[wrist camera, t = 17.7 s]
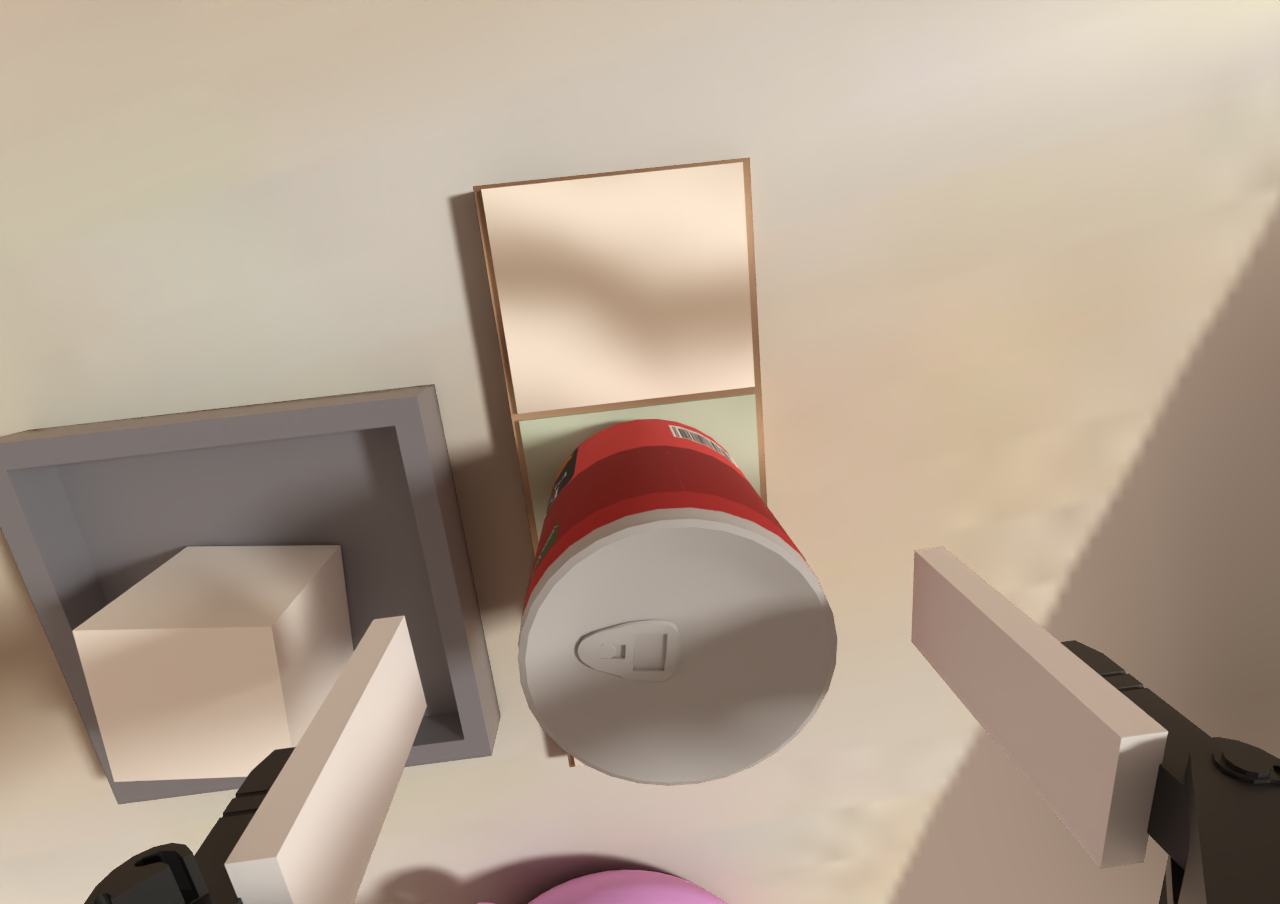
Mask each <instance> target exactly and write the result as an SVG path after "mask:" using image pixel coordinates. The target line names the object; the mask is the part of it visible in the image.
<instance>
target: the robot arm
mask: <svg viewBox="0 0 1280 904" xmlns="http://www.w3.org/2000/svg"><path fill="white" fill-rule="evenodd" d="M912 643H913V644H914V645H915V646H916V647H917V649H918V650H919V651H920V652H921V653H922V655H923V656H924V657H925V658H926V660H927V661H928V662H929V663H930V664H931V666H932V667H933V668H934V669H935V670H936V672H937V673H938V674H939V675H940V676H941V678H942V679H943V680H944V681H945V682H946V684H947V685H948V686H949V687H950V688H951V690H952V691H953V692H954V693H955V694H956V696H957V697H958V698H959V699H960V700H961V702H962V703H963V704H964V705H965V706H966V708H967V709H968V710H969V711H970V712H971V714H972V715H973V716H974V717H975V718H976V720H977V721H978V722H979V723H980V724H981V726H982V727H983V728H984V729H985V730H986V732H987V733H988V734H989V735H990V736H991V738H992V739H993V740H994V741H995V742H996V744H997V745H998V746H999V747H1000V748H1001V750H1002V751H1003V752H1004V753H1005V755H1006V756H1007V757H1008V758H1009V759H1010V761H1011V762H1012V763H1013V764H1014V765H1015V767H1016V768H1017V769H1018V770H1019V771H1020V772H1021V774H1022V775H1023V776H1024V777H1025V779H1026V780H1027V781H1028V782H1029V783H1030V785H1031V786H1032V787H1033V788H1034V789H1035V791H1036V792H1037V793H1038V794H1039V795H1040V797H1041V798H1042V799H1043V800H1044V801H1045V803H1046V804H1047V805H1048V806H1049V807H1050V809H1051V810H1052V811H1053V812H1054V813H1055V815H1056V816H1057V817H1058V818H1059V819H1060V821H1061V822H1062V823H1063V824H1064V825H1065V827H1066V828H1067V829H1068V830H1069V831H1070V833H1071V834H1072V835H1073V836H1074V837H1075V839H1076V840H1077V841H1078V842H1079V844H1080V845H1081V846H1082V847H1083V848H1084V850H1085V851H1086V852H1087V853H1088V854H1089V856H1090V857H1091V858H1092V859H1093V860H1094V861H1095V863H1096V864H1097V865H1098V866H1099V868H1108V867H1115V866H1122V865H1128V864H1135V863H1142V862H1144V857H1145V852H1146V847H1147V841H1148V836H1149V835H1150V836H1151V837H1152V838H1153V839H1154V840H1155V841H1156V842H1157V843H1158V844H1159V845H1160V846H1161V847H1162V848H1163V849H1164V850H1165V851H1166V852H1167V853H1168V854H1169V856H1168V861H1167V866H1166V871H1165V876H1164V881H1163V886H1162V891H1161V896H1160V901H1159V904H1280V759H1278V758H1276V757H1275V756H1273V755H1271V754H1269V753H1267V752H1265V751H1264V750H1262V749H1260V748H1257V747H1254V746H1252V745H1249V744H1246V743H1243V742H1240V741H1237V740H1231V739H1226V738H1220V737H1213V738H1211V737H1210V736H1209V735H1207V734H1206V733H1205V732H1204V731H1202V730H1201V729H1200V728H1198V727H1197V726H1196V725H1195V724H1193V723H1192V722H1190V721H1189V720H1188V719H1187V718H1185V717H1184V716H1183V715H1182V714H1180V713H1179V712H1178V711H1176V710H1175V709H1174V708H1173V707H1171V706H1170V705H1169V704H1167V703H1166V702H1165V701H1164V700H1162V699H1161V698H1159V697H1158V696H1157V695H1156V694H1154V693H1153V692H1152V691H1151V690H1149V689H1148V688H1144V687H1143V684H1141V683H1140V682H1139V681H1138V680H1136V679H1135V678H1134V677H1133V676H1131V675H1130V674H1126V673H1125V671H1124V670H1123V669H1122V668H1121V667H1120V666H1118V665H1117V664H1116V663H1114V662H1113V661H1112V660H1110V659H1109V658H1108V657H1107V656H1105V655H1104V654H1103V653H1101V652H1098V651H1096V650H1094V649H1092V648H1090V647H1088V646H1086V645H1084V644H1082V643H1079V642H1077V641H1075V640H1074V641H1066V642H1059V641H1058V640H1056V639H1055V638H1054V637H1053V636H1052V635H1050V634H1049V633H1048V632H1047V631H1046V630H1044V629H1043V628H1042V627H1041V626H1039V625H1038V624H1037V623H1036V622H1035V621H1033V620H1032V619H1031V618H1030V617H1028V616H1027V615H1026V614H1025V613H1024V612H1022V611H1021V610H1020V609H1019V608H1018V607H1016V606H1015V605H1014V604H1013V603H1011V602H1010V601H1009V600H1008V599H1007V598H1005V597H1004V596H1003V595H1002V594H1001V593H999V592H998V591H997V590H996V589H994V588H993V587H992V586H991V585H990V584H988V583H987V582H986V581H985V580H983V579H982V578H981V577H980V576H979V575H977V574H976V573H975V572H974V571H973V570H971V569H970V568H969V567H968V566H966V565H965V564H964V563H963V562H962V561H960V560H959V559H958V558H957V557H955V556H954V555H953V554H952V553H951V552H949V551H948V550H947V549H946V548H945V547H936V548H928V549H921V550H915V553H914V583H913V613H912ZM426 707H427V704H426V700H425V696H424V692H423V688H422V684H421V680H420V676H419V672H418V668H417V664H416V660H415V656H414V652H413V648H412V644H411V640H410V636H409V632H408V628H407V624H406V620H405V616H396V617H388V618H381V619H374V620H373V621H372V623H371V625H370V626H369V628H368V630H367V631H366V633H365V634H364V636H363V638H362V639H361V641H360V643H359V644H358V646H357V648H356V649H355V651H354V652H353V654H352V656H351V657H350V659H349V661H348V662H347V664H346V666H345V667H344V669H343V670H342V672H341V674H340V675H339V677H338V679H337V680H336V682H335V684H334V685H333V687H332V688H331V690H330V692H329V693H328V695H327V697H326V698H325V700H324V702H323V703H322V705H321V707H320V708H319V710H318V711H317V713H316V715H315V716H314V718H313V720H312V721H311V723H310V725H309V726H308V728H307V729H306V731H305V733H304V734H303V736H302V738H301V739H300V741H299V743H298V744H297V746H296V747H291V748H284V749H276V750H274V751H273V752H272V753H271V754H269V755H268V756H267V757H266V758H265V759H264V760H263V761H262V762H261V763H259V764H258V765H257V766H256V767H255V768H254V769H253V770H252V771H251V772H250V773H249V775H248V776H247V778H246V779H245V781H244V782H243V784H242V785H241V787H240V788H239V790H238V791H237V793H236V797H235V798H234V799H232V800H231V802H230V803H229V805H228V806H227V808H226V809H225V811H224V812H223V817H222V818H219V820H218V821H217V823H216V824H215V826H214V827H213V829H212V830H211V832H210V833H209V835H208V836H207V838H206V839H205V841H204V842H203V844H202V845H201V847H200V848H199V850H198V851H197V853H196V854H195V856H194V855H193V853H192V851H191V850H190V849H189V848H188V847H187V846H186V845H183V844H176V843H170V844H165V845H161V846H156V847H153V848H151V849H148V850H146V851H144V852H142V853H140V854H138V855H135V856H133V857H132V858H130V859H129V860H127V861H126V862H124V863H123V864H122V865H120V866H119V867H117V868H116V869H114V870H113V871H112V872H111V873H110V874H109V875H108V876H106V877H105V878H104V879H103V880H102V881H101V882H100V883H99V884H98V885H97V886H96V887H95V889H94V890H93V891H92V893H91V894H90V896H89V897H88V899H87V900H86V902H85V903H84V904H353V903H354V900H355V898H356V895H357V892H358V890H359V887H360V884H361V882H362V879H363V876H364V874H365V871H366V868H367V866H368V863H369V860H370V858H371V855H372V852H373V850H374V847H375V844H376V841H377V839H378V836H379V833H380V831H381V828H382V825H383V823H384V820H385V817H386V815H387V812H388V809H389V807H390V804H391V801H392V799H393V796H394V793H395V791H396V788H397V785H398V782H399V780H400V777H401V774H402V772H403V769H404V766H405V764H406V761H407V758H408V756H409V753H410V750H411V748H412V745H413V742H414V740H415V737H416V734H417V732H418V729H419V726H420V723H421V721H422V718H423V715H424V713H425V710H426Z"/></svg>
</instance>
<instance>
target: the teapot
mask: <svg viewBox="0 0 1280 904" xmlns="http://www.w3.org/2000/svg"><path fill="white" fill-rule="evenodd" d="M476 904H494V903H489V902H480V903H476ZM528 904H727V903H725V902H724V901H722V900H721V899H719V898H718V897H716V896H715V895H714V894H712V893H710V892H708V891H706V890H705V889H703V888H701V887H699V886H697V885H695V884H693V883H691V882H689V881H686V880H684V879H681V878H678V877H675V876H672V875H668V874H663V873H659V872H652V871H644V870H614V871H605V872H599V873H594V874H589V875H585V876H582V877H578V878H575V879H572V880H569V881H567V882H564V883H562V884H560V885H557V886H555V887H553V888H551V889H550V890H548V891H546V892H544V893H542V894H541V895H539V896H538V897H536V898H535V899H534V900H532V901H531V902H529V903H528Z"/></svg>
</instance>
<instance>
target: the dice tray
mask: <svg viewBox="0 0 1280 904" xmlns="http://www.w3.org/2000/svg"><path fill="white" fill-rule="evenodd" d="M0 527H1V529H2V532H3V534H4V536H5V539H6V541H7V544H8V546H9V548H10V551H11V553H12V555H13V558H14V560H15V562H16V565H17V567H18V569H19V572H20V574H21V577H22V579H23V581H24V584H25V586H26V588H27V591H28V593H29V595H30V598H31V600H32V602H33V605H34V607H35V609H36V612H37V614H38V617H39V619H40V621H41V624H42V626H43V628H44V631H45V633H46V635H47V638H48V640H49V642H50V645H51V647H52V650H53V652H54V654H55V657H56V659H57V661H58V664H59V666H60V668H61V671H62V673H63V675H64V678H65V680H66V682H67V685H68V687H69V690H70V692H71V694H72V697H73V699H74V701H75V704H76V706H77V708H78V711H79V713H80V715H81V718H82V720H83V723H84V725H85V727H86V730H87V732H88V734H89V737H90V739H91V741H92V744H93V746H94V748H95V751H96V753H97V755H98V758H99V760H100V763H101V765H102V767H103V770H104V772H105V774H106V777H107V779H108V781H109V784H110V786H111V788H112V791H113V793H114V796H115V798H116V800H117V803H118V804H125V803H133V802H140V801H148V800H156V799H163V798H171V797H179V796H186V795H194V794H202V793H209V792H217V791H225V790H232V789H239V788H240V787H241V785H242V784H243V782H244V781H245V779H246V778H247V777H225V778H201V779H176V780H151V781H127V782H114V779H113V776H112V772H111V769H110V765H109V761H108V758H107V754H106V751H105V747H104V743H103V740H102V736H101V732H100V729H99V725H98V722H97V718H96V714H95V711H94V707H93V704H92V700H91V696H90V693H89V689H88V685H87V682H86V678H85V675H84V671H83V667H82V664H81V660H80V657H79V653H78V649H77V646H76V642H75V639H74V635H73V630H74V629H75V628H77V627H78V626H79V625H81V624H82V623H84V622H85V621H86V620H88V619H89V618H90V617H92V616H93V615H94V614H96V613H97V612H99V611H100V610H101V609H103V608H104V607H105V606H107V605H108V604H109V603H111V602H112V601H114V600H115V599H116V598H118V597H119V596H120V595H122V594H123V593H125V592H126V591H127V590H129V589H130V588H131V587H133V586H134V585H135V584H137V583H138V582H140V581H141V580H142V579H144V578H145V577H146V576H148V575H149V574H150V573H152V572H153V571H155V570H156V569H157V568H159V567H160V566H161V565H163V564H164V563H166V562H167V561H168V560H170V559H171V558H172V557H174V556H175V555H176V554H178V553H179V552H181V551H182V550H183V549H185V548H186V547H189V546H298V545H340V546H341V554H342V562H343V570H344V578H345V586H346V594H347V602H348V611H349V619H350V627H351V635H352V643H353V651H355V649H356V648H357V646H358V644H359V643H360V641H361V639H362V638H363V636H364V634H365V633H366V631H367V630H368V628H369V626H370V625H371V623H372V621H373V620H374V619H381V618H388V617H396V616H405V620H406V624H407V628H408V632H409V636H410V640H411V644H412V648H413V652H414V656H415V660H416V664H417V668H418V672H419V676H420V680H421V684H422V688H423V692H424V696H425V700H426V704H427V707H426V710H425V713H424V715H423V718H422V721H421V723H420V726H419V729H418V732H417V734H416V737H415V740H414V742H413V745H412V748H411V750H410V753H409V756H408V758H407V761H406V764H405V766H404V767H409V766H416V765H424V764H432V763H439V762H447V761H455V760H462V759H470V758H478V757H485V756H492V752H493V747H494V743H495V739H496V734H497V730H498V725H499V721H500V717H501V716H500V711H499V706H498V701H497V696H496V691H495V686H494V681H493V676H492V671H491V666H490V661H489V656H488V651H487V646H486V641H485V636H484V631H483V626H482V621H481V616H480V611H479V606H478V601H477V596H476V591H475V586H474V581H473V576H472V571H471V566H470V561H469V556H468V551H467V546H466V541H465V536H464V531H463V526H462V521H461V516H460V511H459V506H458V501H457V496H456V491H455V486H454V480H453V475H452V470H451V465H450V460H449V455H448V450H447V445H446V440H445V435H444V430H443V425H442V420H441V415H440V410H439V405H438V400H437V395H436V390H435V385H434V384H432V385H424V386H415V387H406V388H397V389H388V390H379V391H370V392H362V393H353V394H344V395H335V396H326V397H317V398H308V399H300V400H291V401H282V402H273V403H264V404H255V405H247V406H238V407H229V408H220V409H211V410H202V411H193V412H185V413H176V414H167V415H158V416H149V417H140V418H132V419H123V420H114V421H105V422H96V423H87V424H78V425H70V426H61V427H52V428H43V429H34V430H27V431H23V432H20V433H16V434H13V435H9V436H5V437H2V438H0Z"/></svg>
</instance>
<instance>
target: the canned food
mask: <svg viewBox="0 0 1280 904" xmlns="http://www.w3.org/2000/svg"><path fill="white" fill-rule="evenodd" d="M518 646H519V654H518V661H519V671H520V681H521V686H522V688H523V691H524V694H525V697H526V700H527V703H528V705H529V708H530V710H531V711H532V713H533V714H534V716H535V718H536V719H537V721H538V722H539V724H540V726H541V727H542V729H543V730H544V731H545V732H546V733H547V734H548V735H549V736H550V737H551V738H552V739H553V740H554V741H555V742H556V743H557V744H558V745H559V746H560V747H561V749H563V750H564V751H565V752H567V753H568V754H570V755H571V756H573V757H574V758H576V759H577V760H579V761H580V762H582V763H583V764H585V765H587V766H589V767H591V768H594V769H596V770H598V771H600V772H603V773H605V774H607V775H609V776H612V777H616V778H620V779H624V780H628V781H632V782H636V783H643V784H655V785H666V786H669V785H684V784H697V783H702V782H706V781H711V780H715V779H720V778H724V777H727V776H730V775H732V774H735V773H737V772H740V771H743V770H745V769H748V768H750V767H753V766H754V765H756V764H758V763H759V762H761V761H763V760H764V759H766V758H768V757H770V756H771V755H773V754H775V753H776V752H778V751H779V750H780V749H781V748H782V747H784V746H785V745H786V744H787V743H788V742H790V741H791V740H792V739H793V738H794V737H795V736H797V735H798V734H799V733H800V731H801V730H802V729H803V728H804V727H805V725H806V724H807V723H808V722H809V721H810V719H811V718H812V717H813V716H814V715H815V713H816V712H817V710H818V708H819V706H820V704H821V702H822V700H823V699H824V697H825V695H826V693H827V691H828V689H829V686H830V682H831V679H832V675H833V672H834V669H835V665H836V650H837V635H836V629H835V624H834V618H833V613H832V611H831V608H830V606H829V604H828V601H827V599H826V597H825V594H824V592H823V590H822V588H821V585H820V583H819V581H818V578H817V576H816V575H815V574H814V572H813V571H812V569H811V568H810V567H809V565H808V564H807V562H806V560H805V558H804V557H803V555H802V554H801V553H800V551H799V550H798V548H797V547H796V546H795V544H794V543H793V542H792V540H791V539H790V537H789V536H788V535H787V533H786V532H785V531H784V529H783V528H782V526H781V525H780V524H779V522H778V521H777V520H776V518H775V517H774V515H773V514H772V513H771V511H770V510H769V509H768V507H767V506H766V504H765V503H764V502H763V500H762V499H761V498H760V496H759V495H758V493H757V492H756V491H755V489H754V488H753V487H752V485H751V484H750V482H749V481H748V480H747V478H746V477H745V476H744V474H743V473H742V471H741V470H740V469H739V467H738V466H737V465H736V463H735V462H734V461H733V459H732V458H731V456H730V455H729V454H728V452H727V451H726V450H725V449H724V448H723V447H722V446H721V445H719V444H718V443H717V442H716V441H715V440H714V439H713V438H711V437H710V436H708V435H706V434H704V433H703V432H701V431H699V430H697V429H696V428H693V427H690V426H687V425H685V424H682V423H679V422H675V421H668V420H661V419H639V420H632V421H628V422H623V423H619V424H615V425H613V426H611V427H609V428H606V429H604V430H602V431H599V432H597V433H596V434H594V435H593V436H591V437H590V438H588V439H587V440H586V441H584V442H583V443H581V444H580V445H579V446H578V447H577V448H576V449H575V450H574V451H573V452H572V453H571V454H570V456H569V457H568V458H567V459H566V461H565V463H564V464H563V466H562V467H561V469H560V470H559V472H558V474H557V477H556V479H555V482H554V485H553V487H552V490H551V494H550V498H549V503H548V507H547V511H546V515H545V519H544V523H543V527H542V532H541V536H540V540H539V544H538V548H537V552H536V556H535V561H534V565H533V569H532V573H531V577H530V581H529V585H528V590H527V594H526V600H525V606H524V611H523V615H522V620H521V628H520V635H519V642H518Z"/></svg>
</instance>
